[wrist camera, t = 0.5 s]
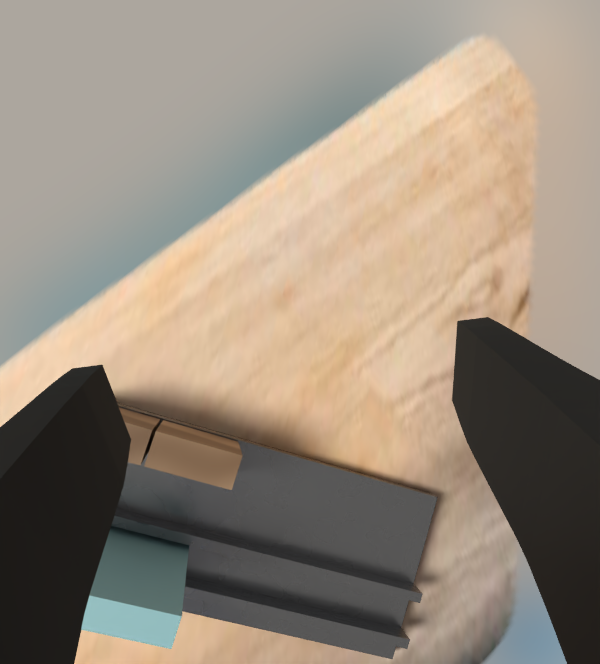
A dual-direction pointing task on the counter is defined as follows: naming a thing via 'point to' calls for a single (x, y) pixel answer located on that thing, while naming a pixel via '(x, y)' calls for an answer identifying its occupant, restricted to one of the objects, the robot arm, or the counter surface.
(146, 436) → the offcut
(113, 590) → the teal slab
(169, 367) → the counter surface
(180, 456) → the offcut
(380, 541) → the rack
